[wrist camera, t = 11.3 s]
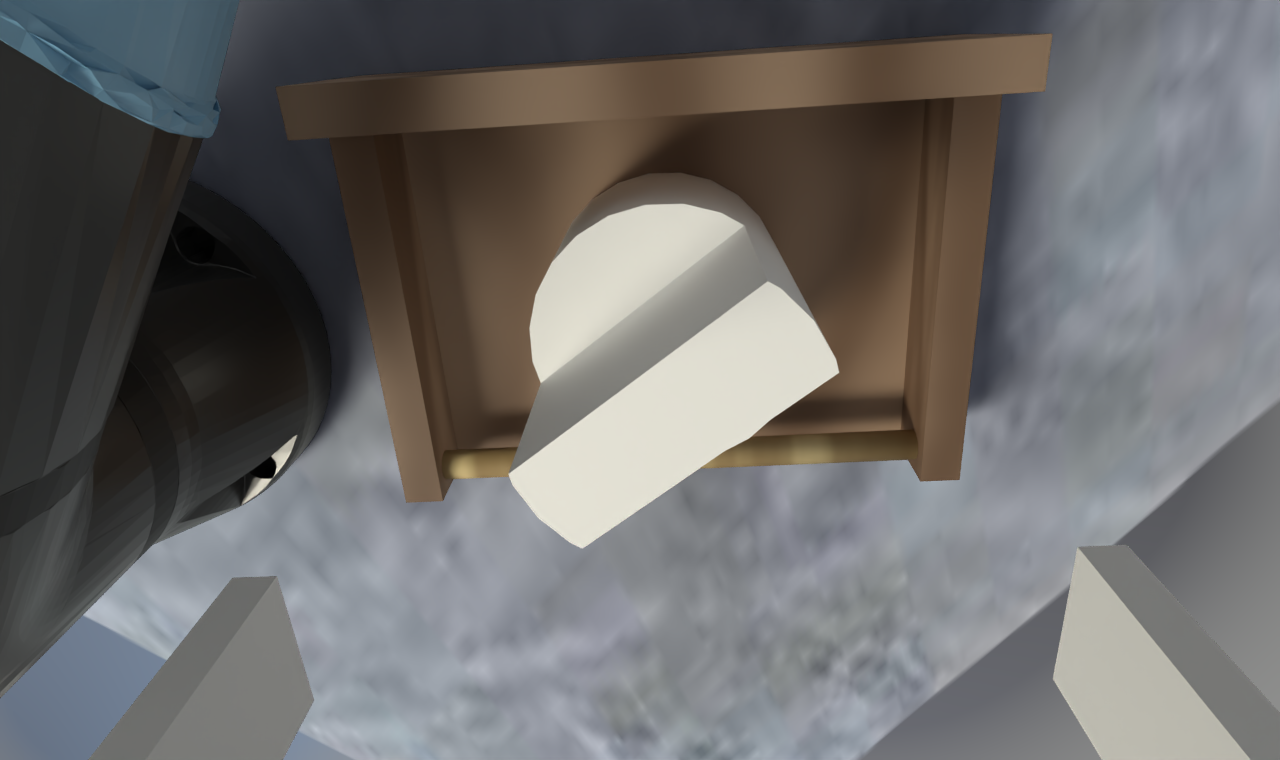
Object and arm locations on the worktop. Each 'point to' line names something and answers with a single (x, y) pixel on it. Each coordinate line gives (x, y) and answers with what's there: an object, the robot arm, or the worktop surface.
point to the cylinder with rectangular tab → (657, 349)
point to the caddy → (695, 145)
